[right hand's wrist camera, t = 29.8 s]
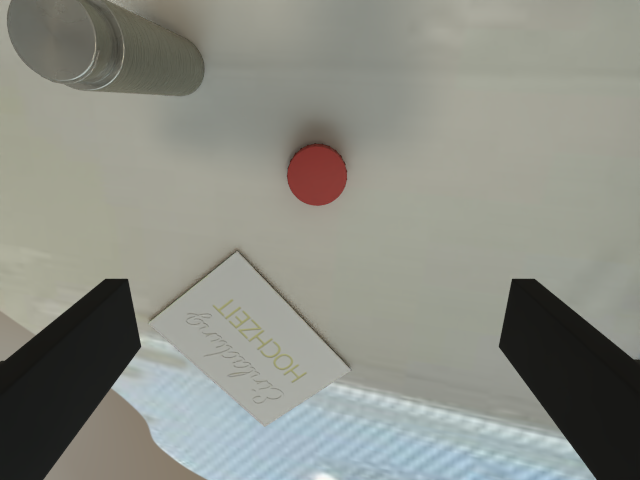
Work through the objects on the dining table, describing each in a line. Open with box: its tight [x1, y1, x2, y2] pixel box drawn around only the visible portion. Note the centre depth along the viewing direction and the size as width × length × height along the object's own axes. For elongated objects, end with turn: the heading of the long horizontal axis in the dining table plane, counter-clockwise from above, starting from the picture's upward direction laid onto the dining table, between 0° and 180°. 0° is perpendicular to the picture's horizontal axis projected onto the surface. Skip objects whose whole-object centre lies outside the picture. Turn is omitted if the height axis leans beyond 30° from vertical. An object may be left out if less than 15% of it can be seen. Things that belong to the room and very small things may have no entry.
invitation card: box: [148, 251, 351, 427], centre depth 47 cm, size 21×1×15 cm
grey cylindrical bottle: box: [7, 0, 204, 96], centre depth 28 cm, size 5×5×18 cm
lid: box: [287, 143, 347, 206], centre depth 38 cm, size 6×6×2 cm
